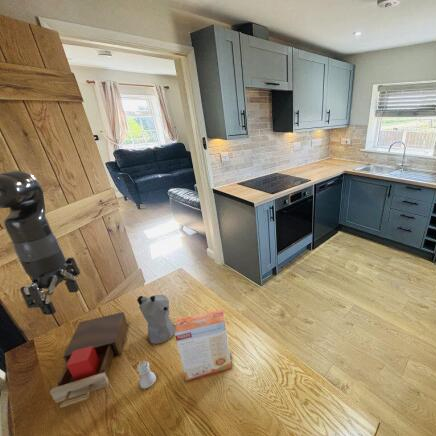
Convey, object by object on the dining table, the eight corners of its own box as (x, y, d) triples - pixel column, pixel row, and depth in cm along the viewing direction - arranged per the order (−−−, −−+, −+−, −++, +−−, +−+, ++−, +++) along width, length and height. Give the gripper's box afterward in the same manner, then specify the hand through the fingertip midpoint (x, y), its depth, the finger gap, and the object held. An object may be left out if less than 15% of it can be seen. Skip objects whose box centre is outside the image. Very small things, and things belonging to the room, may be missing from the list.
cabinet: (119, 355, 82) (114, 342, 79) (70, 370, 77) (62, 356, 74) (127, 324, 94) (123, 311, 92) (85, 335, 89) (79, 322, 87)
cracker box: (229, 353, 84) (224, 307, 76) (231, 368, 79) (225, 322, 70) (187, 364, 80) (176, 317, 71) (185, 381, 74) (173, 333, 66)
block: (75, 383, 72) (66, 365, 68) (81, 368, 76) (73, 350, 73) (96, 376, 73) (87, 359, 70) (100, 362, 78) (93, 345, 74)
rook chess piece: (151, 389, 72) (145, 372, 69) (136, 389, 72) (130, 371, 69) (159, 375, 76) (154, 358, 73) (145, 374, 76) (139, 357, 73)
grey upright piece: (184, 330, 92) (176, 293, 85) (164, 350, 84) (153, 311, 77) (156, 317, 98) (147, 282, 91) (134, 335, 90) (122, 298, 83)
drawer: (104, 400, 68) (99, 389, 67) (49, 419, 64) (42, 408, 62) (118, 349, 83) (114, 339, 81) (74, 361, 79) (69, 351, 77)
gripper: (46, 239, 66) (67, 286, 72) (-7, 269, 53) (24, 323, 59) (76, 238, 66) (94, 284, 73) (31, 267, 53) (58, 321, 60)
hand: (63, 302), depth 66 cm, fingers open, 8 cm apart
